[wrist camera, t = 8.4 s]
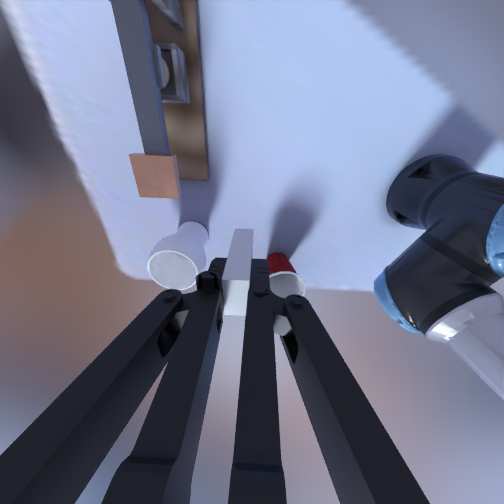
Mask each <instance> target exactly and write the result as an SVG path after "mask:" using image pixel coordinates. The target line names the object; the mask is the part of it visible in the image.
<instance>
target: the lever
mask: <svg viewBox="0 0 504 504" xmlns="http://www.w3.org/2000/svg"><path fill="white" fill-rule="evenodd" d="M111 4H112V8H113V13H114V17H115V22H116V26H117V31H118V35H119V40H120V44H121V49H122V53H123V58H124V62H125V67H126V71H127V76H128V80H129V85H130V89H131V94H132V98H133V103H134V107H135V112H136V116H137V121H138V125H139V130H140V134H141V138H142V143H143V147H144V152H145V153H133V154H129V157H130V161H131V165H132V169H133V173H134V176H135V180H136V184H137V188H138V192H139V195H140V197H152V198H176V199H179V198H180V197H181V196H182V194H181V187H180V180H179V173H178V167H177V160H176V155H171V154H170V148H169V142H168V136H167V129H166V123H165V117H164V111H163V105H162V98H161V92H160V87H162V88H166V84H165V77H164V70H163V64H162V57H161V50H160V47H159V46H158V45H153V43H152V36H151V30H150V24H149V18H148V12H147V6H146V0H111Z"/></svg>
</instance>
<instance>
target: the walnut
mask: <svg viewBox="0 0 504 504" xmlns="http://www.w3.org/2000/svg"><path fill="white" fill-rule="evenodd" d="M162 64H163V70H164V77H165V84H166V86H167V84H168V82H169V78H170V74H169V69H168V66H167V64H166V62H165V60H164V59H163V58H162ZM160 89H163V88H162V87H160Z"/></svg>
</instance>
